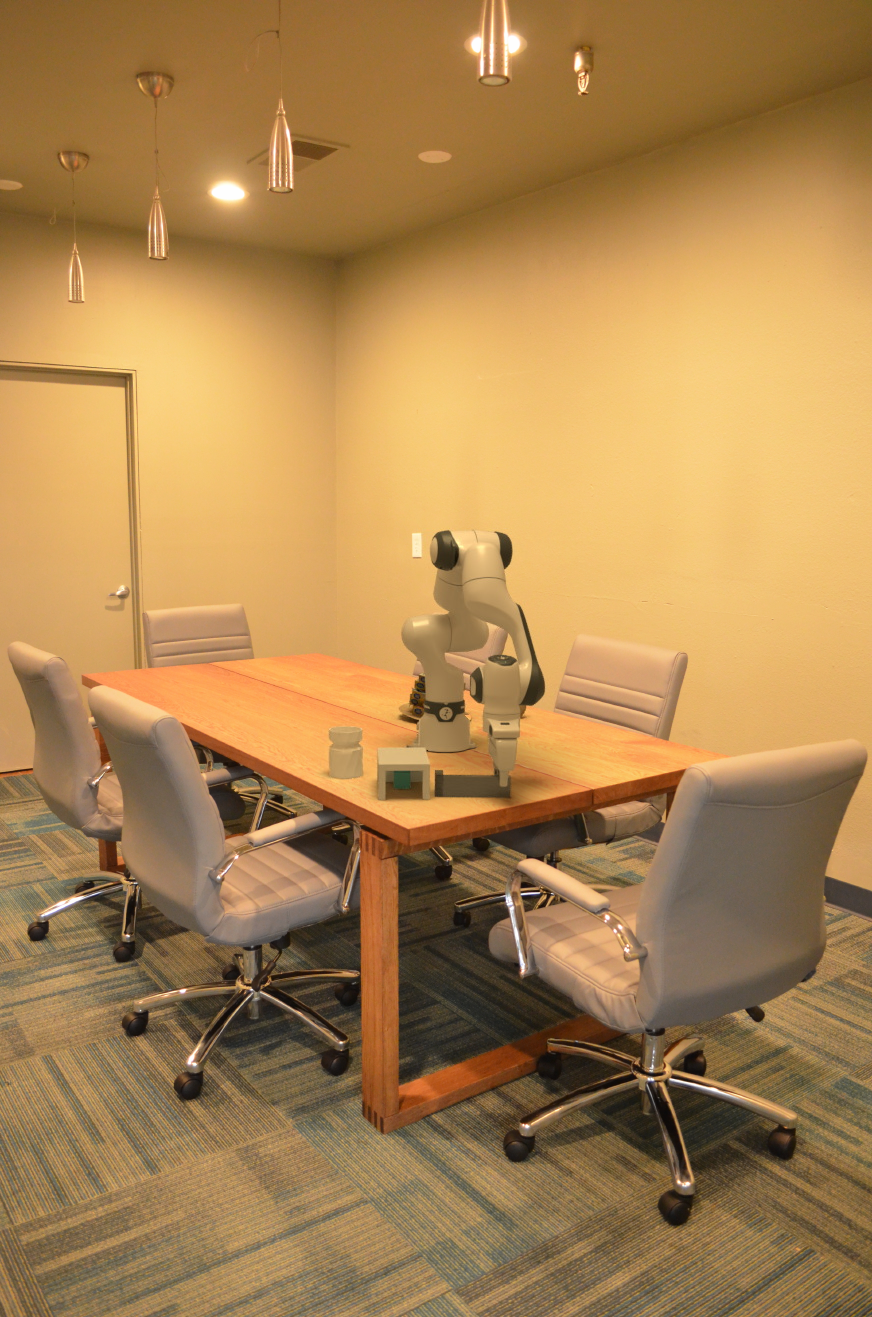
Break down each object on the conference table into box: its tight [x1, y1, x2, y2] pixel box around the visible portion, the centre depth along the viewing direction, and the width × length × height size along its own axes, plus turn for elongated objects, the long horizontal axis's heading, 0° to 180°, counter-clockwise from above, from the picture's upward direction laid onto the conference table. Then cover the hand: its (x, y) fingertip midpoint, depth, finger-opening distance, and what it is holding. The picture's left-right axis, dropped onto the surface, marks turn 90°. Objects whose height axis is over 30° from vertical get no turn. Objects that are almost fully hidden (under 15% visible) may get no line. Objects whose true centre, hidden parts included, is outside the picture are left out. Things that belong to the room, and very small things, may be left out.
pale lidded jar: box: [328, 725, 364, 780], centre depth 254 cm, size 9×9×12 cm
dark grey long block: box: [434, 769, 512, 799], centre depth 238 cm, size 6×18×5 cm, turn 90°
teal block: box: [393, 771, 411, 790], centre depth 243 cm, size 4×4×4 cm
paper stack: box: [398, 669, 469, 721], centre depth 333 cm, size 25×25×17 cm
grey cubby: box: [376, 747, 431, 801], centre depth 240 cm, size 18×12×8 cm, turn 4°
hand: (500, 781), depth 236 cm, fingers open, 8 cm apart
